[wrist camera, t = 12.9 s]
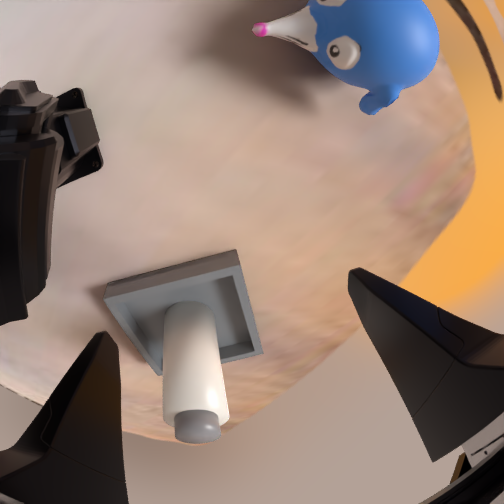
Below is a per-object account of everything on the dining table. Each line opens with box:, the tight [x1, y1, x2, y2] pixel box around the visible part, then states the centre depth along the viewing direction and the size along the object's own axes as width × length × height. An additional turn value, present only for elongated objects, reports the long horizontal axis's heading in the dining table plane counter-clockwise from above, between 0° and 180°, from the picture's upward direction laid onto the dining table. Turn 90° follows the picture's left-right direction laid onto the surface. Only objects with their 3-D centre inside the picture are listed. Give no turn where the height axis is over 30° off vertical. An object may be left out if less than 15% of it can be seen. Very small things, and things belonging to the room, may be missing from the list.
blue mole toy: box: [252, 0, 439, 115], centre depth 12 cm, size 12×12×8 cm
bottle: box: [163, 301, 229, 444], centre depth 21 cm, size 5×5×12 cm
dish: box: [103, 250, 264, 376], centre depth 26 cm, size 12×12×2 cm
